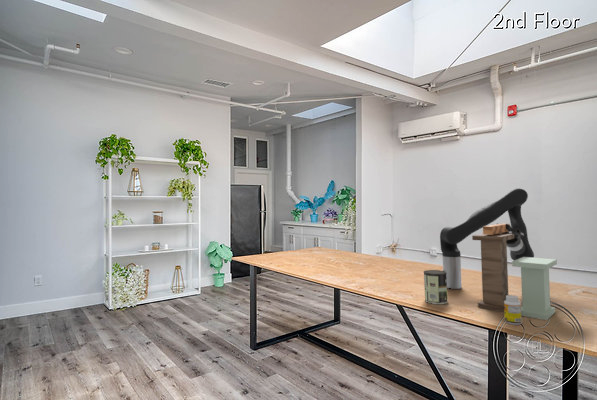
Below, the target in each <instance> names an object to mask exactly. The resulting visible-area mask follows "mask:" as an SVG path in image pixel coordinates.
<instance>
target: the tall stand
mask: <svg viewBox="0 0 597 400" xmlns="http://www.w3.org/2000/svg"><path fill="white" fill-rule="evenodd" d="M471 237H472V238H471V239H472V241H480V257H481V284H482V285H481V286H482V287H481V288H482V289H481V290H482V291H481V292H482V300H480V301H478V302H477V308H479V309H485V310H490V311H495V312H500V313H504V301H505V300H506V295H509V279H508V278H509V272H508V271H509V270H508V247H507V242H506V240H510V239H514V234H501V233H498V234H494V235H483V233H479V234H474V235H472V234H471Z"/></svg>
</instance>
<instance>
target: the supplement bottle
mask: <svg viewBox="0 0 597 400" xmlns="http://www.w3.org/2000/svg"><path fill="white" fill-rule="evenodd" d="M521 307H522V302H520V300H519V297H518V296H517V295H514V294H513V295H512V294H508V295H506V300H505V301H504V312H503V313H504V314H503V315H504V322H505V323H506V324H508V325H512V326H513V325H515V326H519V325H521V324H522V316H521Z"/></svg>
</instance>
